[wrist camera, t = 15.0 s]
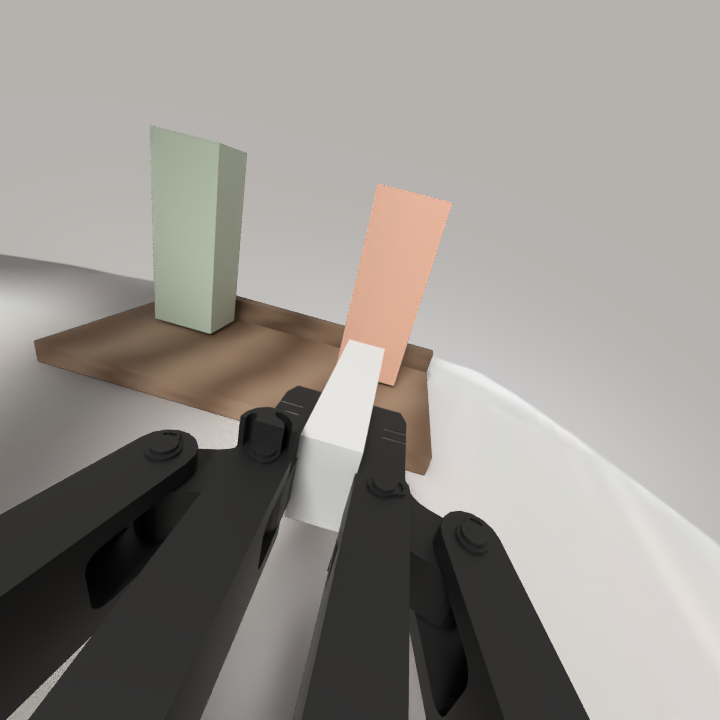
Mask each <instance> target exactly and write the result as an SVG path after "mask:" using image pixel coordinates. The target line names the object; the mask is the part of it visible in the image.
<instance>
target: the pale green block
mask: <svg viewBox="0 0 720 720" xmlns="http://www.w3.org/2000/svg"><path fill="white" fill-rule="evenodd" d="M150 149H151V150H150V151H151V185H152V223H153V258H154V294H155V318H156V319H160V320H163V321H167V322H170V323H174V324H177V325H181V326H184V327H188V328H191V329H195V330H198V331H202V332H205V333H209V334H211V333H213V332H215V331H217V330H218V329H220V328H222V327H224V326H225V325H227V324H229V323H231V322H232V321H234V314H235V302H236V288H237V276H238V263H239V250H240V237H241V236H240V235H241V224H242V211H243V198H244V185H245V172H246V160H247V153H245V152H242V151H239V150H237V149H234V148H232V147H229V146H226V145H224V144H221V143H217V142H213V141H210V140H206V139H202V138H198V137H194V136H190V135H186V134H183V133H179V132H175V131H171V130H167V129H163V128H159V127H155V126H151V125H150Z"/></svg>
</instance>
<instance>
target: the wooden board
mask: <svg viewBox="0 0 720 720" xmlns="http://www.w3.org/2000/svg"><path fill="white" fill-rule="evenodd" d="M344 330H345V326H343V325H340V324H336V323H333V322H329V321H326V320H322V319H318V318H314V317H311V316H307V315H304V314H300V313H297V312H293V311H289V310H286V309H282V308H279V307H275V306H272V305H268V304H264V303H261V302H257V301H254V300H250V299H246V298H243V297H239V296H236V302H235V314H234V321H232V322H231V323H229V324H227V325H225V326H224V327H222V328H220V329H218V330H217V331H215V332H213V333H211V334H209V333H205V332H202V331H198V330H195V329H191V328H188V327H184V326H181V325H177V324H174V323H170V322H167V321H163V320H160V319H156V318H155V302H152V303H149V304H146V305H143V306H140V307H137V308H134V309H131V310H128V311H125V312H122V313H118V314H115V315H112V316H109V317H106V318H103V319H100V320H97V321H94V322H91V323H88V324H84V325H81V326H78V327H75V328H72V329H69V330H66V331H63V332H60V333H57V334H54V335H51V336H47V337H44V338H41V339H38V340H35V341H34V345H35V350H36V355H37V360H38V361H40V362H43V363H46V364H50V365H53V366H56V367H60V368H63V369H67V370H70V371H73V372H77V373H80V374H83V375H87V376H90V377H94V378H97V379H100V380H104V381H107V382H110V383H114V384H117V385H121V386H124V387H127V388H131V389H134V390H137V391H141V392H144V393H148V394H151V395H154V396H158V397H161V398H164V399H168V400H171V401H175V402H178V403H181V404H185V405H188V406H191V407H195V408H198V409H202V410H205V411H208V412H212V413H215V414H218V415H222V416H225V417H229V418H232V419H235V420H239V421H240V416H241V415H242V414H244V413H245V412H246V411H248V410H251V409H254V408H257V407H273V408H276V406H277V405H278V403H279V402H280V401H281V399H282V398H283V396H284V395H285V394H286V392H287V391H288V390H290V389H292V388H294V387H296V386H298V385H299V386H302V387H306V388H309V389H313V390H316V391H320V392H323V390H324V388H325V386H326V384H327V382H328V380H329V378H330V376H331V374H332V372H333V370H334V369H335V367H336V365H337V361H338V356H339V352H340V347H341V343H342V339H343V334H344ZM432 356H433V350H430V349H426V348H423V347H419V346H415V345H412V344H408V343H407V346H406V350H405V353H404V356H403V359H402V362H401V365H400V368H399V371H398V375H397V378H396V381H395V384H394V386H391V385H388V384H384V383H381V382H378V384H377V389H376V394H375V399H374V403H373V405H374V406H377V407H381V408H384V409H388V410H391V411H395V412H398V413H401V414H402V416H403V418H404V420H405V422H406V424H407V427H406V462H405V470H407V471H411V472H414V473H418V474H421V475H425V473H426V471H427V468H428V466H429V463H430V461H431V459H432V452H431V436H430V421H429V405H428V390H427V374H426V372H427V370H428V367H429V364H430V361H431V358H432Z"/></svg>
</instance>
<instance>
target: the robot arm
mask: <svg viewBox="0 0 720 720" xmlns="http://www.w3.org/2000/svg"><path fill="white" fill-rule="evenodd" d="M384 351H385V349H383V348H379V347H375V346H372V345H368V344H365V343H361V342H357V341H354V340H350V339H349V341H348V343H347V345H346V347H345V349H344V351H343V353H342V355H341V357H340V359H339V361H338V363H337V365H336V367H335V369H334V370H333V372H332V374H331V376H330V378H329V380H328V382H327V384H326V386H325V388H324V390H323V392H320V391H316V390H313V389H309V388H306V387H302V386H299V385H298V386H296V387H294V388H292V389H290V390H288V391H287V392H286V394H285V395H284V396H283V398H282V399H281V401H280V402H279V403H278V405H277V406H276V408H273V407H257V408H254V409H251V410H248V411H246V412H245V413H244V414H242V415H241V416H240V425H239V435H238V445H237V446H236V447H235V448H231V449H221V450H216V449H198V444H197V441H196V439H195V438H194V437H193V436H191V435H190V434H189V433H186V432H183V431H180V430H161V431H155V432H152V433H149V434H147V435H144V436H142V437H140V438H138V439H136V440H135V441H133V442H131V443H129V444H127V445H126V446H124V447H122V448H120V449H118V450H117V451H115V452H113V453H111V454H109V455H107V456H106V457H104V458H102V459H100V460H98V461H97V462H95V463H93V464H91V465H89V466H88V467H86V468H84V469H82V470H80V471H79V472H77V473H75V474H73V475H71V476H70V477H68V478H66V479H64V480H62V481H60V482H59V483H57V484H55V485H53V486H51V487H50V488H48V489H46V490H44V491H42V492H41V493H39V494H37V495H35V496H33V497H32V498H30V499H28V500H26V501H24V502H23V503H21V504H19V505H17V506H15V507H13V508H12V509H10V510H8V511H6V512H4V513H3V514H1V515H0V720H6V719H7V718H8V717H9V716H10V715H11V714H12V713H13V712H14V711H15V710H16V709H17V708H18V707H19V706H20V705H21V704H22V703H23V702H24V701H25V700H26V699H27V698H29V697H30V696H31V695H32V694H33V693H34V692H35V691H36V690H37V689H38V688H39V687H40V686H41V685H42V684H43V683H44V682H45V681H46V680H47V679H48V678H49V677H50V676H51V675H52V674H53V673H54V672H55V671H56V670H57V669H58V668H59V667H60V666H61V665H62V664H63V663H64V662H65V661H66V660H68V659H69V658H70V657H71V656H72V655H73V654H74V653H75V652H76V651H77V650H78V649H79V648H80V647H81V646H82V645H83V644H84V643H85V642H86V641H87V640H88V639H89V638H90V637H91V636H92V637H91V638H90V639H89V641H88V642H87V643H86V645H85V646H84V647H83V648H82V650H81V651H80V652H79V654H78V655H77V656H76V658H75V659H74V660H73V662H72V663H71V664H70V666H69V667H68V668H67V669H66V671H65V672H64V673H63V675H62V676H61V677H60V679H59V680H58V681H57V683H56V684H55V685H54V687H53V688H52V689H51V691H50V692H49V693H48V694H47V696H46V697H45V698H44V700H43V701H42V702H41V704H40V705H39V706H38V708H37V709H36V710H35V712H34V713H33V714H32V715H31V717H30V718H29V719H28V720H200V718H201V716H202V714H203V711H204V709H205V706H206V704H207V702H208V699H209V697H210V695H211V692H212V690H213V687H214V685H215V683H216V680H217V678H218V676H219V673H220V671H221V668H222V666H223V664H224V661H225V659H226V656H227V654H228V652H229V649H230V647H231V645H232V642H233V640H234V637H235V635H236V633H237V630H238V628H239V626H240V623H241V621H242V618H243V616H244V614H245V611H246V609H247V607H248V604H249V602H250V599H251V597H252V595H253V592H254V590H255V587H256V585H257V583H258V580H259V578H260V576H261V573H262V571H263V568H264V566H265V564H266V561H267V559H268V557H269V554H270V552H271V549H272V547H273V545H274V542H275V540H276V537H277V535H278V529H279V524H280V520H281V518H282V516H283V514H284V511H285V509H286V511H285V517H288V518H292V519H295V520H298V521H302V522H305V523H309V524H312V525H315V526H319V527H322V528H325V529H329V530H332V531H335V532H339V533H338V537H337V540H336V544H335V547H334V550H333V554H332V557H331V560H330V563H329V567H328V570H327V571H328V575H327V579H326V583H325V587H324V591H323V596H322V600H321V604H320V608H319V612H318V616H317V621H316V625H315V629H314V633H313V637H312V641H311V646H310V650H309V654H308V658H307V662H306V666H305V671H304V675H303V679H302V683H301V687H300V691H299V696H298V700H297V704H296V708H295V712H294V716H293V720H408V708H409V630H410V635H411V641H412V646H413V651H414V656H415V662H416V667H417V672H418V678H419V683H420V688H421V694H422V699H423V704H424V709H425V715H426V720H590V719H589V717H588V715H587V713H586V711H585V709H584V707H583V705H582V703H581V701H580V699H579V697H578V695H577V693H576V691H575V689H574V687H573V685H572V683H571V681H570V679H569V677H568V675H567V673H566V671H565V669H564V667H563V665H562V663H561V661H560V659H559V657H558V655H557V653H556V651H555V649H554V647H553V645H552V643H551V641H550V639H549V637H548V635H547V633H546V631H545V629H544V627H543V625H542V623H541V621H540V619H539V617H538V615H537V613H536V611H535V609H534V607H533V605H532V603H531V601H530V599H529V597H528V595H527V593H526V591H525V589H524V587H523V585H522V583H521V581H520V579H519V577H518V575H517V573H516V571H515V569H514V567H513V565H512V563H511V561H510V559H509V557H508V555H507V553H506V551H505V549H504V547H503V545H502V543H501V541H500V539H499V538H498V536H497V535H496V533H495V532H494V530H493V529H492V528H491V527H490V526H489V525H488V524H486V523H485V522H484V521H483V520H482V519H480V518H478V517H476V516H475V515H473V514H470V513H467V512H463V511H454V512H450V513H448V514H447V515H445V516H444V518H442V517H440V516H438V515H437V514H435V513H433V512H432V511H430V510H428V509H427V508H425V507H424V506H422V505H421V504H420V503H418V502H417V501H416V500H415V499H414V498H413V496H412V495H411V493H410V489H409V486H408V484H407V483H406V481H405V462H406V427H407V424H406V422H405V420H404V418H403V416H402V414H401V413H398V412H395V411H391V410H388V409H384V408H381V407H377V406H374V405H373V403H374V399H375V394H376V389H377V384H378V379H379V375H380V370H381V365H382V360H383V355H384Z"/></svg>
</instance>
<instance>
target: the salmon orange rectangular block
mask: <svg viewBox="0 0 720 720" xmlns="http://www.w3.org/2000/svg"><path fill="white" fill-rule="evenodd" d="M451 205H452V202H448V201H444V200H440V199H436V198H432V197H428V196H424V195H420V194H417V193H413V192H409V191H405V190H401V189H397V188H393V187H389V186H385V185H381V184H378V186H377V190H376V194H375V199H374V203H373V208H372V212H371V216H370V220H369V225H368V229H367V234H366V238H365V242H364V247H363V251H362V255H361V260H360V265H359V269H358V273H357V277H356V282H355V286H354V290H353V295H352V299H351V304H350V308H349V312H348V317H347V321H346V326H345V330H344V334H343V339H342V343H341V347H340V352H339V356H338V361H339V359H340V357H341V355H342V353H343V351H344V349H345V347H346V345H347V343H348V341H349V339H350V340H354V341H357V342H361V343H365V344H368V345H372V346H375V347H379V348H383V349H385V351H384V355H383V360H382V365H381V370H380V375H379V379H378V382H381V383H384V384H388V385H391V386H394V384H395V381H396V378H397V375H398V371H399V368H400V365H401V362H402V359H403V356H404V353H405V350H406V346H407V343H408V340H409V337H410V334H411V331H412V328H413V324H414V321H415V318H416V315H417V312H418V309H419V305H420V302H421V299H422V296H423V293H424V290H425V287H426V284H427V281H428V277H429V274H430V271H431V268H432V265H433V262H434V259H435V256H436V252H437V249H438V246H439V243H440V240H441V237H442V234H443V231H444V227H445V224H446V221H447V218H448V215H449V212H450V208H451ZM338 361H337V363H338Z"/></svg>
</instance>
